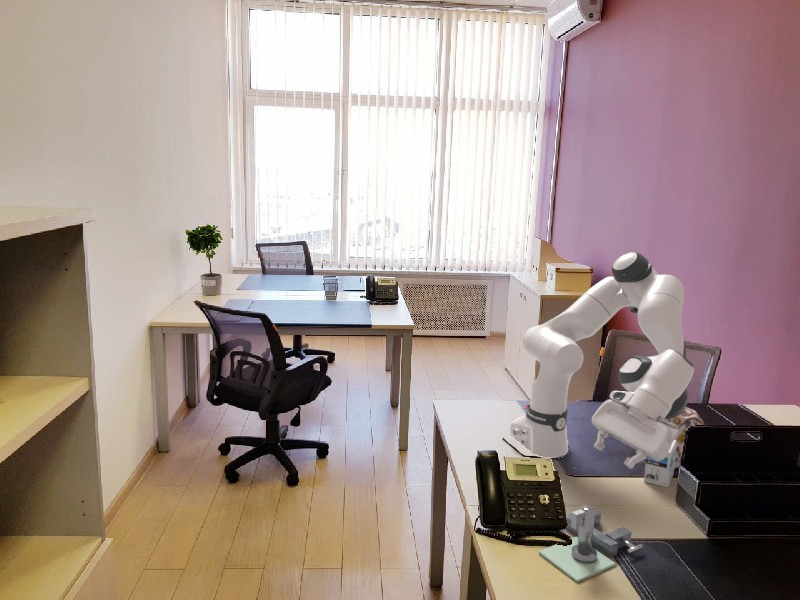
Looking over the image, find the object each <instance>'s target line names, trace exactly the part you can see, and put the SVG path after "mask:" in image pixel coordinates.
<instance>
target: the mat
mask: <svg viewBox="0 0 800 600" xmlns="http://www.w3.org/2000/svg"><path fill="white" fill-rule="evenodd" d="M570 539H572V544H571V545H567V546H563V545H557V544H558V543H556V544H554V545H550V546H548V547H545V548H544V549H541V550H539V551H538V554H539V555H540V556H541V557H543V558H544V559H545V560H546V561H548V562H549V563H550V564H552V565H553V566H555V567H556V568H557V569H558V570H560V571H561V572H562V573H564V574H565V575H566V576H568V577H569V578H570V579H571V580H573V581H574V582H575V583H579V582H582V581H585V580H586V579H588V578H591V577H594V576H595V575H598V574H599V573H601V572H604V571H606V570H609V569H611V568H613V567H615V566H616V562H614V561H613V560H611V558H610V557H608V556H607V555H605V554H604V553H602V552H601V551H599V550H598V549H595V550H596V552H597V560H596V561H595V562H594V563H590V564H585V563H581V562H578V561H576V560H575V559H574V558H573V557H572V555H571V553H572V547H573V546H575V545H578V536H573V537H571V538H570Z"/></svg>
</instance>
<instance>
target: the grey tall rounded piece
mask: <svg viewBox="0 0 800 600" xmlns="http://www.w3.org/2000/svg"><path fill="white" fill-rule="evenodd" d="M595 510H596V509H595V508H594V507H593V506H591V505H589V504H584V505H583V504H582V505H581V506H580V509H578V510H577V509H576V510H573V511H572V512H571V513H572V520H571V527H572V528H574V529H575V530H576V529H579V532H578V536H577V537H578V545H575V546H573V547H572V553H571V555H572V557H573V558H574V559H575V560H576V561H578V562H581V563H585V564H590V563H594V562H595V561H596V560H597V552H596V550H597V549H596V548H595V547H593V546H592V542H593V529H594V528H595V527H594V517H595Z"/></svg>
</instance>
